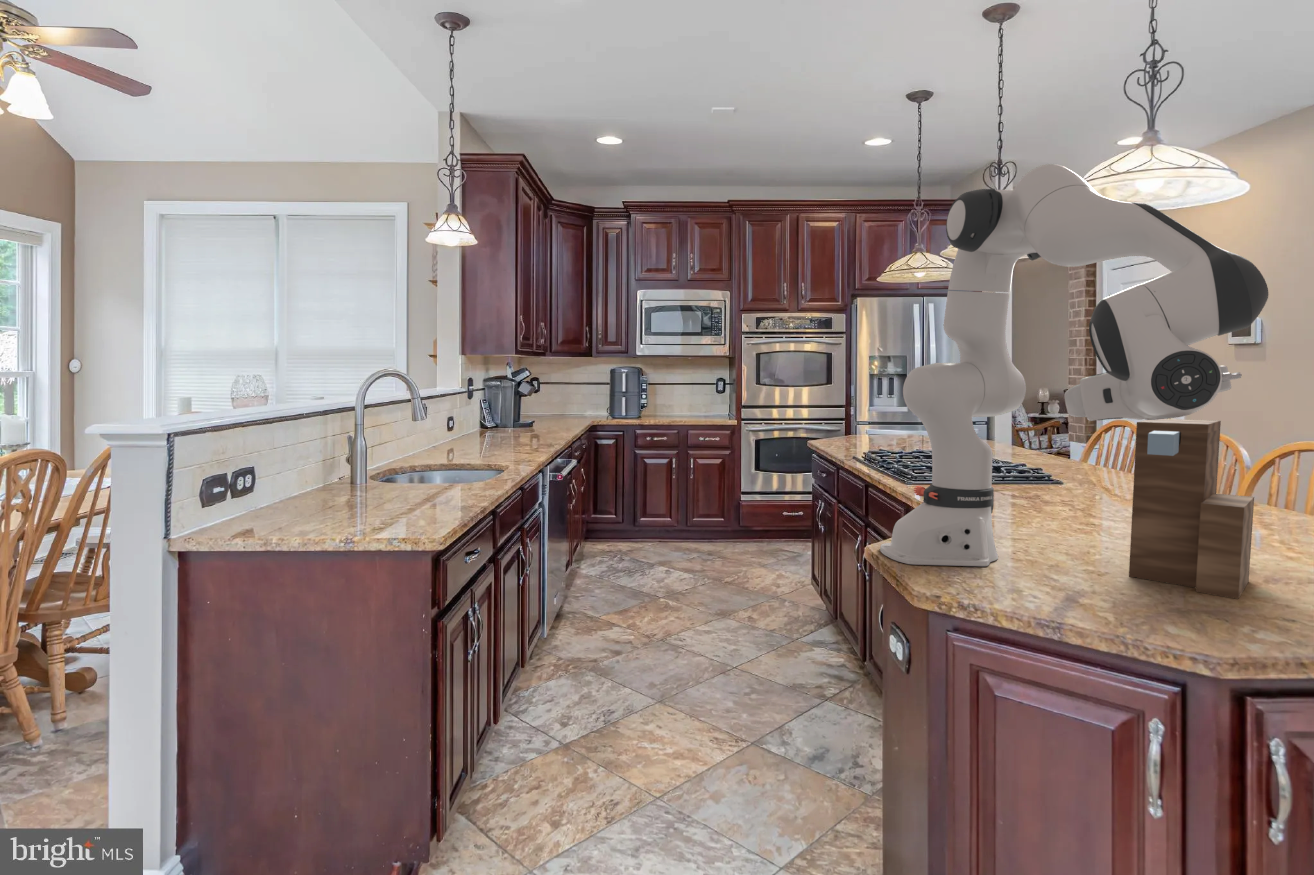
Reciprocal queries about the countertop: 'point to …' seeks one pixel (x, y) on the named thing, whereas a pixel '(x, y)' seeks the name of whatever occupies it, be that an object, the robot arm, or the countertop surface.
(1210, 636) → the countertop surface
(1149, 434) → the plug
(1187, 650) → the countertop surface
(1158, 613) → the countertop surface
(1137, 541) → the stand
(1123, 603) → the countertop surface
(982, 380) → the robot arm
